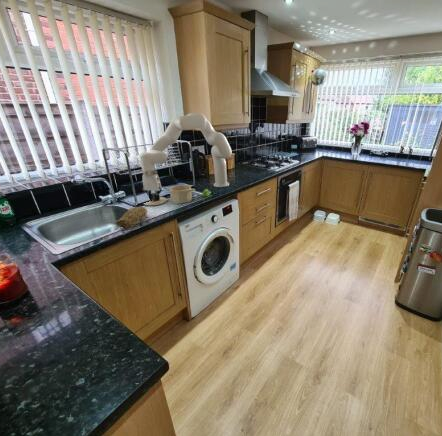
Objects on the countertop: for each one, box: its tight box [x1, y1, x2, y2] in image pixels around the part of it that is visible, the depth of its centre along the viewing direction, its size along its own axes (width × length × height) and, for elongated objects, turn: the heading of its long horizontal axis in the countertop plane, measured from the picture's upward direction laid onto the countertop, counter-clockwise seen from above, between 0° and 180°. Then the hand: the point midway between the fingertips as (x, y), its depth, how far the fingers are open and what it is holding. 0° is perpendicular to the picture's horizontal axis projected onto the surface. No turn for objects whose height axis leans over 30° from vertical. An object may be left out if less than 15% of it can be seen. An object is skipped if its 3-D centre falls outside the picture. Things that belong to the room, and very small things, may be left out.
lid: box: [142, 192, 168, 206], centre depth 160 cm, size 15×15×6 cm
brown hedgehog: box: [115, 206, 148, 230], centre depth 132 cm, size 13×8×20 cm
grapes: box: [201, 188, 212, 198], centre depth 171 cm, size 10×5×5 cm, turn 173°
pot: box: [165, 184, 196, 204], centre depth 163 cm, size 14×19×8 cm
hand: (154, 199), depth 161 cm, fingers open, 4 cm apart
